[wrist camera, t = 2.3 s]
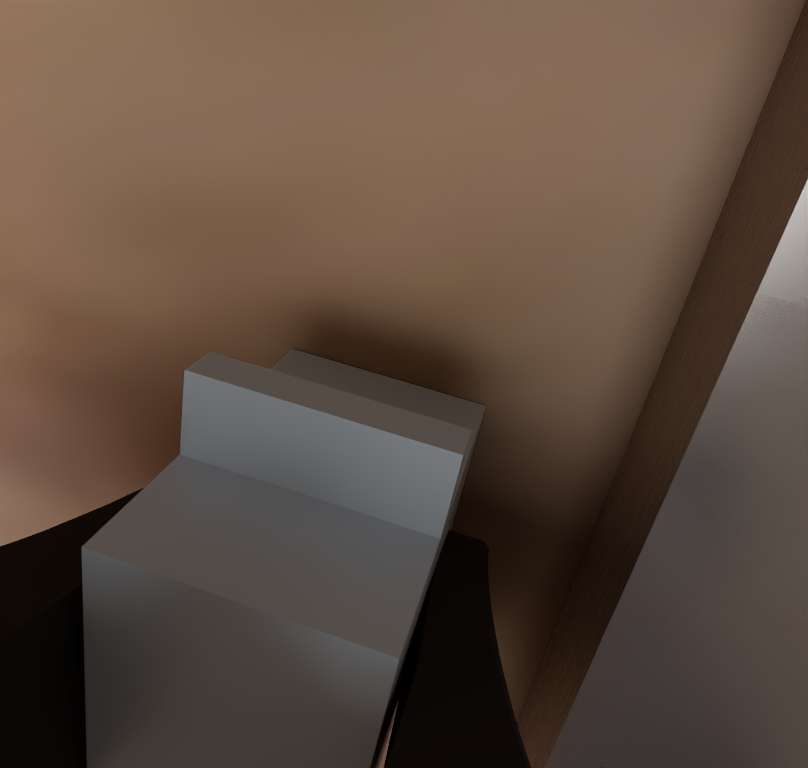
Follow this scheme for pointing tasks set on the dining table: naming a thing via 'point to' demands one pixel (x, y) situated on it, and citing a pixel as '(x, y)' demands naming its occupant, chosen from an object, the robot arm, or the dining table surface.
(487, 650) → the robot arm
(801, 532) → the chassis
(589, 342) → the dining table surface
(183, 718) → the block
